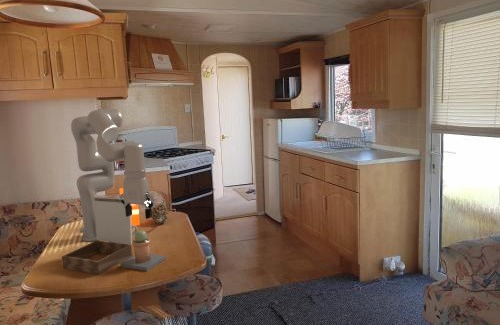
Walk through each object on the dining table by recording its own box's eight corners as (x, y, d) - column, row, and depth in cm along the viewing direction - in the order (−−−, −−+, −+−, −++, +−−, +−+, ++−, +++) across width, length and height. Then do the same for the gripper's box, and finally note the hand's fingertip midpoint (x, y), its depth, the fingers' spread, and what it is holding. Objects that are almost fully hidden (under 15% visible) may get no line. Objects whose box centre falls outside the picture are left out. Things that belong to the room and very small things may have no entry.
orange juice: (122, 223, 223) (119, 187, 220) (139, 220, 225) (136, 185, 222) (122, 227, 215) (119, 190, 212) (140, 224, 218) (136, 188, 215)
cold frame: (63, 268, 164) (61, 256, 164) (97, 251, 181) (96, 240, 181) (99, 274, 157) (98, 262, 156) (132, 256, 174) (131, 245, 173)
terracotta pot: (130, 261, 164) (128, 232, 162) (141, 255, 170) (139, 227, 168) (144, 263, 161) (141, 234, 159) (154, 257, 167) (152, 228, 166)
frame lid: (131, 244, 173) (132, 243, 174) (129, 200, 171) (130, 199, 172) (96, 239, 181) (98, 239, 182) (94, 197, 179) (96, 197, 180)
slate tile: (120, 266, 163) (120, 263, 163) (140, 255, 174) (139, 252, 174) (147, 271, 158) (147, 267, 158) (165, 259, 169) (165, 255, 169)
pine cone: (150, 219, 226) (149, 202, 225) (168, 217, 229) (167, 200, 227) (151, 231, 205) (150, 212, 204) (171, 229, 208) (169, 210, 206)
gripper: (111, 175, 160) (115, 217, 163) (147, 178, 153) (150, 221, 156) (124, 172, 167) (127, 212, 170) (159, 174, 160) (162, 216, 163)
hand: (138, 216), depth 163 cm, fingers open, 9 cm apart
